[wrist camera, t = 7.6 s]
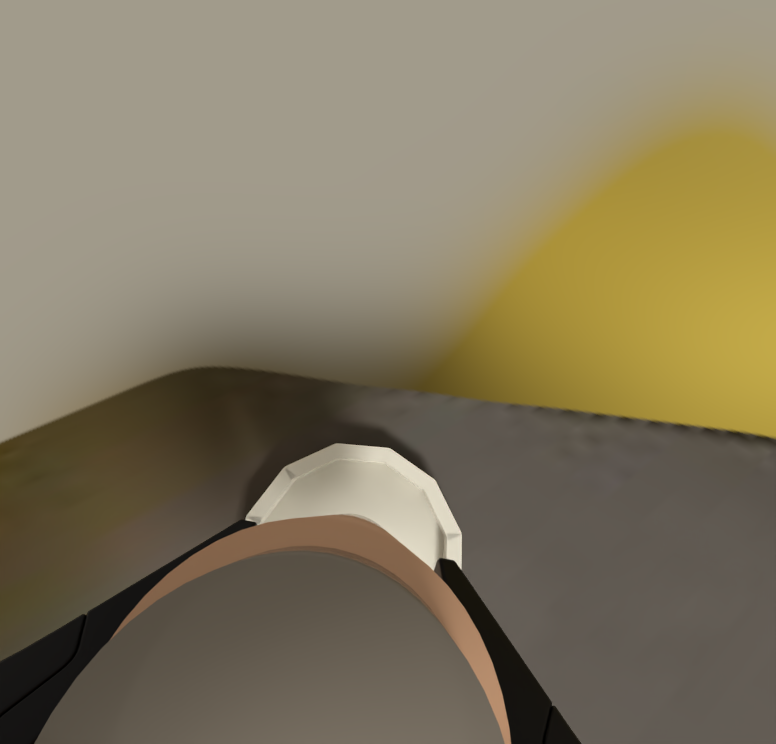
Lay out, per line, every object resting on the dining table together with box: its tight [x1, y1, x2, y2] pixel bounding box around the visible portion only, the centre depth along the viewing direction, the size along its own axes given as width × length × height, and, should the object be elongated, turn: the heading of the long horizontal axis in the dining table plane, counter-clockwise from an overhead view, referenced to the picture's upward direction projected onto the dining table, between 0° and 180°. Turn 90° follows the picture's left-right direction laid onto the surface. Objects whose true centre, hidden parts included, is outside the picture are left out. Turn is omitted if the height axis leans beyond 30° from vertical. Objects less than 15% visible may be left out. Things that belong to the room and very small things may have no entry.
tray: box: [246, 443, 462, 571], centre depth 20 cm, size 12×12×2 cm
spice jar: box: [34, 514, 511, 744], centre depth 9 cm, size 4×4×13 cm
